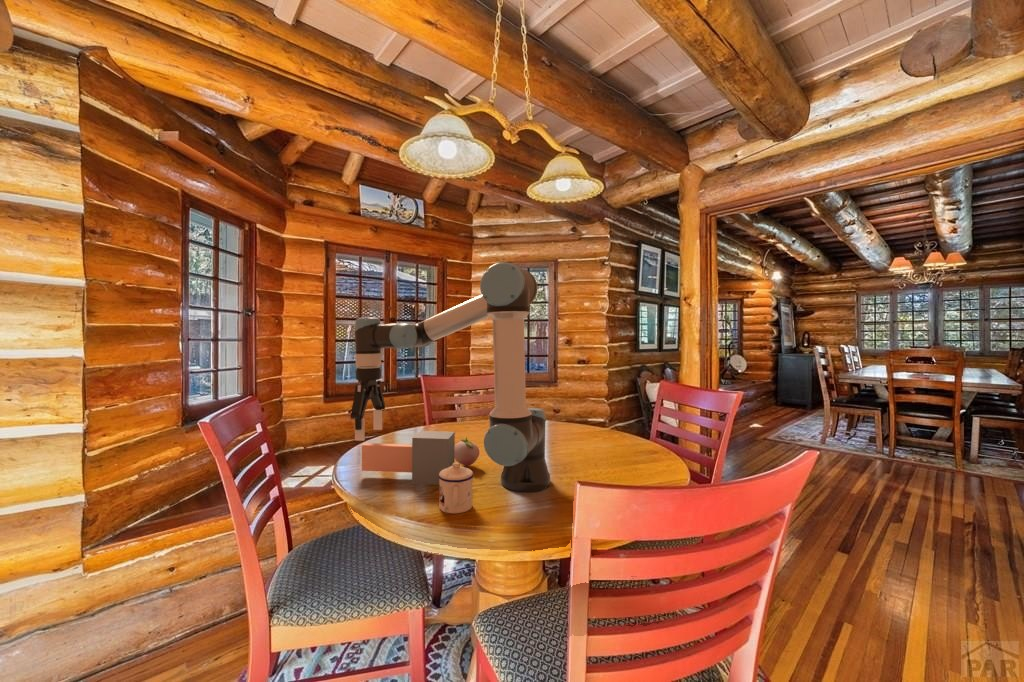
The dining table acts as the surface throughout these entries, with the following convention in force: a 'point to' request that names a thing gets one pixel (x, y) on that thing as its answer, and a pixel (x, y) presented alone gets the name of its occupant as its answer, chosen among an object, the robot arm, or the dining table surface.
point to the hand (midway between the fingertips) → (369, 434)
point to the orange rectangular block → (387, 457)
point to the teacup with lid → (455, 489)
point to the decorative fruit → (466, 452)
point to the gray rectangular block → (431, 455)
